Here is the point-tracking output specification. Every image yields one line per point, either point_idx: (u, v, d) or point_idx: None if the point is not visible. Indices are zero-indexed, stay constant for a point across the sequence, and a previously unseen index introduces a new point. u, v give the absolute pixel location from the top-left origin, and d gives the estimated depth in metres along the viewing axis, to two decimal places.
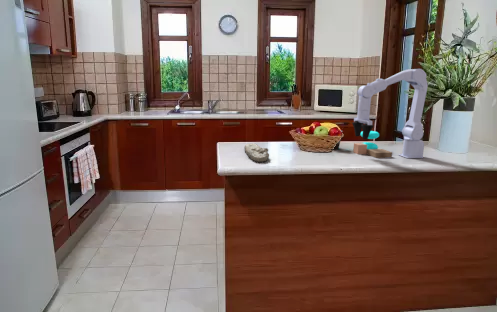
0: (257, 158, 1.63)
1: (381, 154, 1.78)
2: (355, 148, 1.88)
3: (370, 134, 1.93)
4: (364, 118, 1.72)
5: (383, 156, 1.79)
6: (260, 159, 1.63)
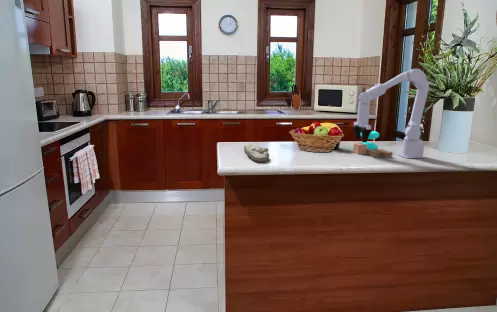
0: (257, 158, 1.63)
1: (381, 154, 1.78)
2: (355, 148, 1.88)
3: (370, 134, 1.93)
4: (363, 123, 1.82)
5: (383, 156, 1.79)
6: (260, 159, 1.63)
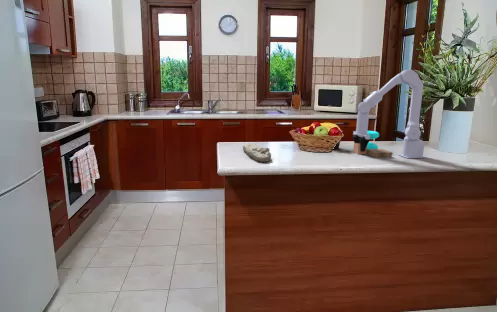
0: (260, 158, 1.63)
1: (381, 154, 1.78)
2: (355, 148, 1.88)
3: (370, 134, 1.93)
4: (362, 132, 1.83)
5: (383, 156, 1.79)
6: (263, 159, 1.63)
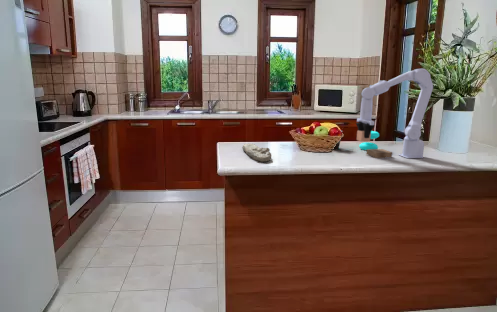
0: (261, 158, 1.63)
1: (381, 154, 1.78)
2: (359, 135, 1.86)
3: None
4: (366, 118, 1.81)
5: (383, 156, 1.79)
6: (264, 159, 1.63)
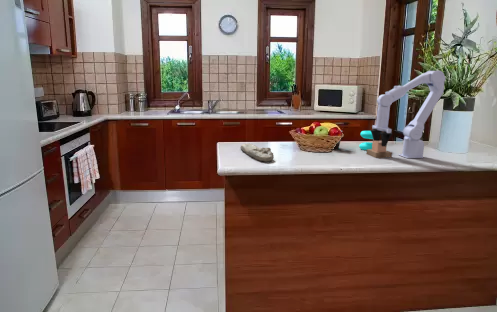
0: (264, 158, 1.63)
1: (381, 154, 1.78)
2: (374, 146, 1.82)
3: (370, 134, 1.93)
4: (383, 126, 1.77)
5: (383, 156, 1.79)
6: (267, 159, 1.63)
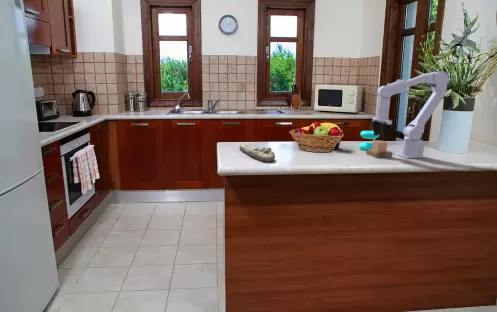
0: (266, 158, 1.64)
1: (381, 154, 1.78)
2: (375, 146, 1.82)
3: (370, 134, 1.93)
4: (383, 118, 1.76)
5: (383, 156, 1.79)
6: (269, 159, 1.64)
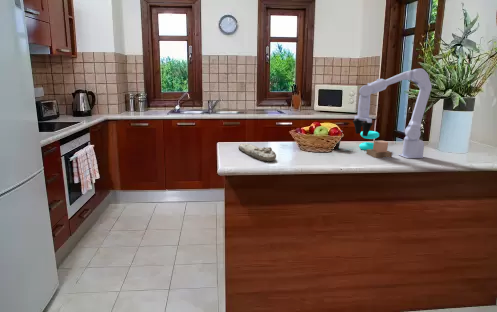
0: (267, 158, 1.64)
1: (381, 154, 1.78)
2: (375, 146, 1.82)
3: (370, 134, 1.93)
4: (364, 116, 1.81)
5: (383, 156, 1.79)
6: (270, 158, 1.64)
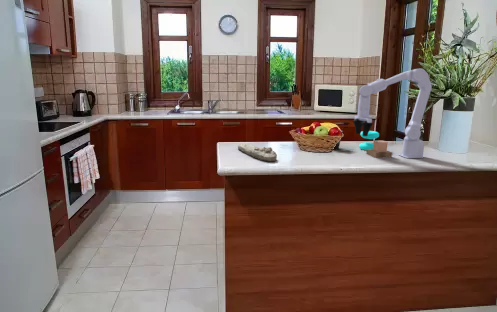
0: (268, 158, 1.64)
1: (381, 154, 1.78)
2: (375, 145, 1.82)
3: (370, 134, 1.93)
4: (364, 116, 1.81)
5: (383, 156, 1.79)
6: (271, 158, 1.64)
